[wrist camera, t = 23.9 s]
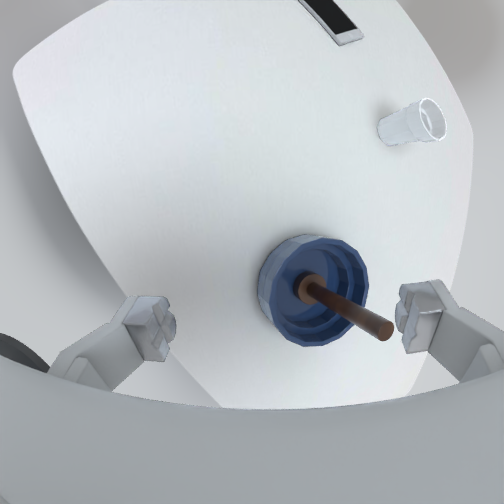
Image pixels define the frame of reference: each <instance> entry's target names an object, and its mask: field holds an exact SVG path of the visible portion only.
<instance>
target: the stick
mask: <svg viewBox="0 0 504 504" xmlns="http://www.w3.org/2000/svg"><path fill="white" fill-rule="evenodd" d="M293 292H294V294H295V296H296V297H297V298H298V299H299V300H301V301H302V302H304V303H305V304H309V305H311V304H316V303H318V302H320V303H321V304H323V305H324V306H326V307H328V308H329V309H331V310H332V311H334V312H336V313H337V314H339V315H340V316H342V317H343V318H345V319H347V320H348V321H350V322H351V323H353V324H355V325H356V326H358V327H359V328H361V329H362V330H364V331H366V332H367V333H369V334H370V335H372V336H374V337H375V338H377V339H378V340H380V341H386V340H388V339H389V338H390V337H391V336H392V334H393V331H394V325H393V323H392V322H391V321H389V320H387V319H385V318H383V317H381V316H379V315H377V314H375V313H373V312H371V311H369V310H367V309H366V308H364V307H362V306H360V305H358V304H356V303H354V302H352V301H350V300H348V299H346V298H344V297H342V296H340V295H338V294H336V293H335V292H333V291H331V290H329V289H327V288H326V282H325V280H324V278H323V277H322V276H320V275H318V274H316V273H314V272H311V271H306V272H303V273H301V274H300V275H298V276H297V278H296V279H295V281H294V284H293Z"/></svg>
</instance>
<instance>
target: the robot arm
mask: <svg viewBox="0 0 504 504" xmlns="http://www.w3.org/2000/svg"><path fill="white" fill-rule="evenodd" d="M399 296H400V298H401V300H400V301H399V302H398V303H397V304H396V310H395V322H396V326H397V329H398V331H399V332H401V333H402V334H403V336H402V343H403V345H404V348H405V351H406V354H410V353H417V352H423V351H428V352H429V353H430V354H431V355H432V356H433V357H434V358H435V359H436V360H437V361H438V362H439V363H441V364H442V365H443V366H444V367H445V368H446V369H447V370H448V371H449V372H450V373H451V374H452V375H453V376H454V377H455V378H456V379H457V380H459V381H460V383H459V384H456V385H453V386H450V387H446V388H442V389H438V390H434V391H430V392H426V393H421V394H417V395H412V396H407V397H401V398H396V399H390V400H384V401H378V402H371V403H364V404H356V405H347V406H338V407H326V408H311V409H281V410H262V409H232V408H216V407H204V406H194V405H185V404H177V403H170V402H163V401H156V400H150V399H144V398H139V397H133V396H128V395H123V394H119V393H114V392H112V391H113V389H115V388H116V387H117V386H118V385H119V384H120V383H121V382H122V381H124V380H125V379H126V378H127V377H128V376H129V375H130V374H131V373H132V372H133V371H134V370H136V369H137V368H138V367H139V366H140V365H141V364H142V363H143V362H144V360H145V361H157V362H164V361H165V359H166V357H167V354H168V352H169V349H170V348H169V345H168V343H170V342H171V341H172V340H174V337H175V334H176V320H175V318H174V315H173V314H172V313H171V312H169V311H168V309H169V307H170V304H169V302H168V300H167V298H166V297H164V296H129V297H127V298H126V300H125V301H124V303H123V304H122V305H121V307H120V308H119V310H118V311H117V313H116V314H115V316H114V317H113V319H112V320H111V322H110V323H106V324H104V325H102V326H101V327H99V328H98V329H96V330H94V331H93V332H91V333H90V334H88V335H87V336H85V337H83V338H82V339H80V340H79V341H77V342H75V343H74V344H72V345H71V346H69V347H67V348H66V349H64V350H63V351H61V352H60V354H59V355H58V357H57V358H56V360H55V361H54V363H53V364H52V366H51V367H50V369H49V370H48V372H47V373H44V372H41V371H38V370H35V369H33V368H30V367H27V366H25V365H22V364H20V363H17V362H15V361H12V360H10V359H8V358H5V357H3V356H1V355H0V504H504V332H503V331H502V330H500V329H499V328H497V327H495V326H494V325H492V324H491V323H489V322H487V321H485V320H484V319H482V318H480V317H479V316H477V315H475V314H474V313H472V312H470V311H469V310H467V309H465V308H463V307H461V308H459V306H458V305H457V303H456V302H455V300H454V298H453V297H452V295H451V294H450V292H449V291H448V289H447V288H446V286H445V285H444V283H443V282H442V281H441V280H439V279H437V280H431V281H427V282H419V283H410V284H402V285H401V287H400V290H399Z"/></svg>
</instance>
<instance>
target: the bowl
mask: <svg viewBox="0 0 504 504" xmlns="http://www.w3.org/2000/svg"><path fill="white" fill-rule="evenodd" d="M306 271H311V272H314V273H316V274H318V275H320V276H322V277H323V278H324V280H325V282H326V288H327V289H329V290H331V291H333V292H335V293H336V294H338V295H340V296H342V297H344V298H346V299H348V300H350V301H352V302H354V303H356V304H358V305H360V306H362V307H365V304H366V299H367V294H368V289H369V282H368V275H367V268H366V266H365V264H364V262H363V260H362V258H361V257H360V255H359V253H358V251H357V250H355V249H354V248H352V247H351V246H350V245H348V244H347V243H345V242H344V241H342V240H338V239H333V238H327V237H321V236H314V235H307V234H304V235H301V236H297V237H294V238H291V239H287V240H286V241H284V242H283V243H282V244H281V245H280V246H278V247H277V248H276V249H275V250H274V251H272V252H271V253H270V255H269V256H268V258H267V260H266V262H265V264H264V265H263V267H262V269H261V271H260V275H259V283H258V290H257V294H258V297H259V301H260V305H261V309H262V311H263V313H264V314H265V315H266V316H267V317H268V319H269V320H270V321H271V322H272V323H273V325H274V326H275V327H276V328H277V329H278V330H279V331H280V333H281V334H282V335H283V336H284V337H285V338H286V339H287V340H289V341H291V342H294V343H296V344H298V345H301V346H303V347H308V346H323V345H326V344H328V343H330V342H332V341H335V340H337V339H339V338H341V337H342V336H343V335H344V334H345V333H346V332H347V331H348V330H349V329H350V328H351V327H352V326H354V325H355V324H353V323H351V322H350V321H348V320H347V319H345V318H343V317H342V316H340V315H339V314H337V313H336V312H334V311H332V310H331V309H329V308H328V307H326V306H324V305H323V304H321V303H320V302H318V303H316V304H311V305H309V304H305V303H304V302H302V301H301V300H299V299H298V298H297V297H296V296H295V294H294V292H293V284H294V281H295V279H296V278H297V276H298V275H300V274H301V273H303V272H306Z"/></svg>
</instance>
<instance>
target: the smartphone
mask: <svg viewBox="0 0 504 504" xmlns="http://www.w3.org/2000/svg"><path fill="white" fill-rule="evenodd" d="M299 1H300V2H301V3H302V4H303V5H304V6H305V7H306V8H307V10H308V11H309V12H310V13H311V14H312V15H313V16H314V17H315V18H316V19H317V20H318V21H319V23H320V24H321V25H322V26H323V27H324V28H325V29H326V30H327V32H328V33H329V34H330V35H331V36H332V38H333V39H334V40H335V41H336V42H337V44H338V45H340V46H341V45H343V44H346V43H349V42H352V41H356V40H359V39H362V38H363V37H364V35H363V33H362V32H361V31H360V30H359V28H358V27H357V26H356V25H355V24H354V22H353V21H352V20H351V19H350V18H349V17H348V16H347V14H346V13H345V12H344V11H343V10H342V9H341V8H340V7H339V6H338V5H337V4H336V2H335V1H334V0H299Z"/></svg>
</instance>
